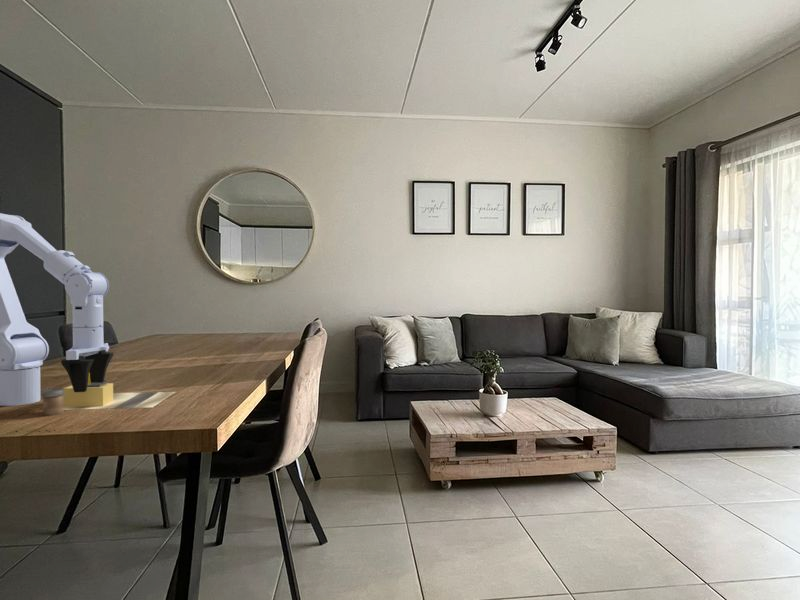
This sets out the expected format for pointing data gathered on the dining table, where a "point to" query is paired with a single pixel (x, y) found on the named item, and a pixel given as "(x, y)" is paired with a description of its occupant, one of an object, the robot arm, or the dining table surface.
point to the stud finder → (89, 395)
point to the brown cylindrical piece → (53, 401)
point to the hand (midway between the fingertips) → (89, 388)
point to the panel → (130, 401)
